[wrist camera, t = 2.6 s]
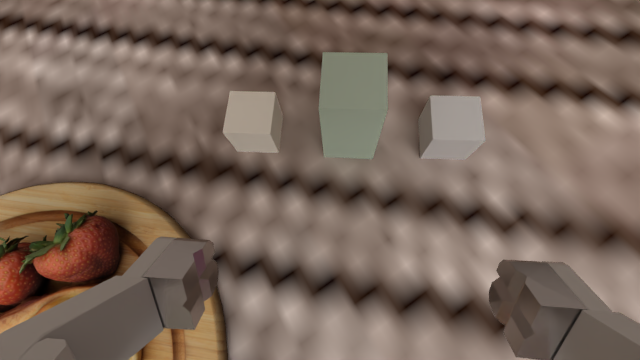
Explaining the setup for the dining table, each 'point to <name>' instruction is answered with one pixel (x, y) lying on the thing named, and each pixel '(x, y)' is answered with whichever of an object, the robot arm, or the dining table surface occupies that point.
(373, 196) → the dining table surface
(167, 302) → the robot arm
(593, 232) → the dining table surface
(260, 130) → the cream block
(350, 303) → the dining table surface
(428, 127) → the grey block
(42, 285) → the wooden plate with food
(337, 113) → the sage-green pillar
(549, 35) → the dining table surface
